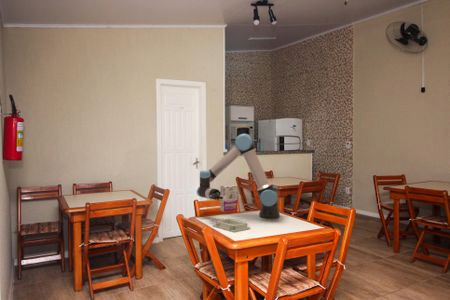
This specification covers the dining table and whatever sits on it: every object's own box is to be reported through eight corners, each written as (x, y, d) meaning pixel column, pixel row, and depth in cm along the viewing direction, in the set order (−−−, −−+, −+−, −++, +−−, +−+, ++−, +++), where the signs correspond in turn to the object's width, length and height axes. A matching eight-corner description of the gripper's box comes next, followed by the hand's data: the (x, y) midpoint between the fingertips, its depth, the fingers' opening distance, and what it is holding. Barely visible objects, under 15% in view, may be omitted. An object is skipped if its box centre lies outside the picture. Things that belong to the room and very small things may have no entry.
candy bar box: (233, 209, 240) (233, 185, 239) (237, 210, 236) (238, 185, 235) (219, 210, 233) (220, 185, 233) (223, 211, 229) (224, 186, 229)
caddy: (228, 223, 236) (228, 218, 236) (250, 228, 221) (250, 223, 221) (212, 226, 226) (212, 221, 226) (234, 232, 212) (234, 226, 211)
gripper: (225, 197, 255) (246, 201, 239) (199, 200, 240) (219, 205, 223) (225, 187, 255) (246, 190, 238) (199, 189, 240) (219, 193, 223)
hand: (233, 197), depth 231 cm, fingers closed on candy bar box, 11 cm apart
